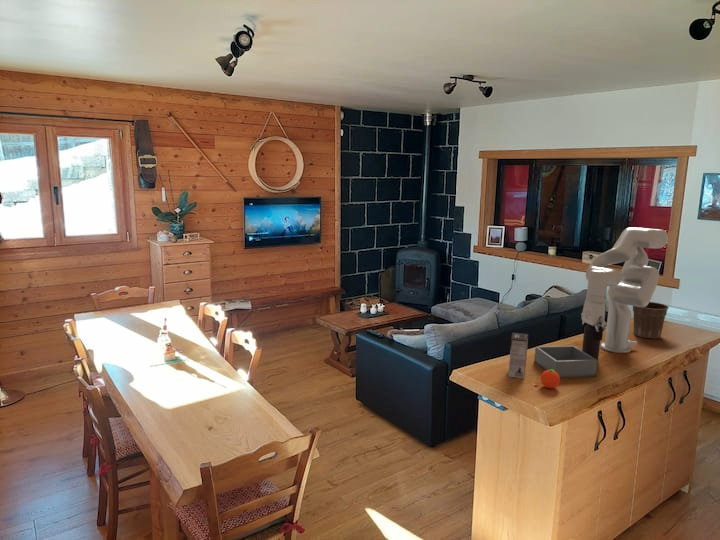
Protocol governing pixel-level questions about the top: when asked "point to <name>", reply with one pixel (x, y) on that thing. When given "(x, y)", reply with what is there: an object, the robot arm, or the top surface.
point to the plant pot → (649, 320)
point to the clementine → (550, 378)
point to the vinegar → (590, 342)
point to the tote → (566, 361)
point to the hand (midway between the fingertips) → (591, 336)
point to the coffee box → (518, 355)
